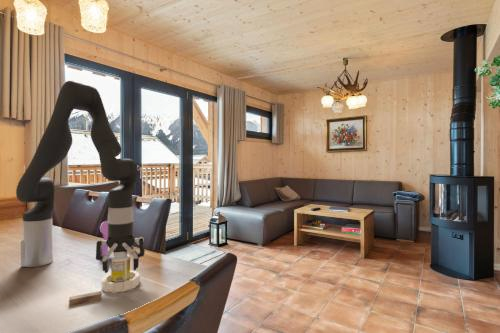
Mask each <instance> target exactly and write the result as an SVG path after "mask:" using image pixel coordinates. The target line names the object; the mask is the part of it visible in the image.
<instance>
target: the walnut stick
mask: <svg viewBox="0 0 500 333" xmlns="http://www.w3.org/2000/svg"><path fill="white" fill-rule="evenodd" d="M102 295H103V294H102V290H100V291H93V292H89V293H83V294H78V295H74V296H73V295H72V296H69V297H68V304H69V305H68V306H69V307H72V306H76V305H81V304H87V303H91V302H96V301H100V300H102V299H103V296H102Z"/></svg>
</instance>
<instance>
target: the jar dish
mask: <svg viewBox="0 0 500 333" xmlns="http://www.w3.org/2000/svg"><path fill="white" fill-rule="evenodd" d="M140 281H141V280H140V272H138V271H137V270H131V269H130V280H127V281H124V282H116V283H114V282H112V281H111V272H110V273H108V274H106V275H105V276H103V278H102V279H101V290H102V291H104V292H106V293H111V294H112V293H113V294H114V293H115V294H116V293H122V292H126V291H130V290H133V289H134V288H136V287H138V286H139V285H140Z"/></svg>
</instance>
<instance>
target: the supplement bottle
mask: <svg viewBox="0 0 500 333" xmlns="http://www.w3.org/2000/svg"><path fill="white" fill-rule="evenodd" d="M110 259H111V260H110V261H111V262H110V264H111V265H110V266H111V271H110V273H111V281H112V282H114V283H116V282H124V281H127V280H130V270H131V255H129V254H128V251H127V252H115V253H114V252H113V256H112V257H111V258H110Z"/></svg>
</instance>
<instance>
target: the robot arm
mask: <svg viewBox="0 0 500 333" xmlns="http://www.w3.org/2000/svg"><path fill="white" fill-rule="evenodd" d="M74 110H78V111H83V112H86V113H87V114H89V116H90V117H91V119H92V124H91V127H90V139H91V141H92V144H93V146H94V147H95V149H96V151H97V153H98V156H99V163H100V169H101V174H102V175H103V177H104V178H105V179H107V181H110V182H118V181H119V183H118V186H116V187H114V188H112V189H110V190H109V191H108V210H107V221H108V239H107V240H104V239H102V238H99V239H98V240H97V242H96V248H95V249H96V250H95V251H96V252H95V260H96V261H101V262H102V272H104V273H105V274H107V273H108V274H109V258H110V256H111V255H112V254H114V253H115V252H127V253H128V254H130V256H132V258H133V263H132V264H133V271H137V269H138V268H139V266H140V265H139V263H140V261H139V258H141V257H142V258H143V257H144V255H145V253H146V252H145V238H144V236H140V237H135V236H134V218H135V217H134V209H133V193H134V188H135V186H136V182H137V177H138V172H139V171H138V165H137V162H136V161H134V160H133V159H132V158H116V157H118V156H119V155H120V154H122V146H121V144H120V142H119V139H117V137H116V135H115V134H114V130H113V129H112V127H111V124H110V122H109V119H108V115H107V112H106V109H105V106H104V103H103V99H102V97H101V94H100V92H99V91H98V89H97V88H96V87H94V86H92V85H90V84H85V83H82V82H79V81H74V80H66V81H65V82H64V83H63V85H62V86H61V87H60V90H59V92H58V96H57V98H56V101H55V104H54V108H53V110H52V115H51V117H50V119H49V122H48V123H47V126H46V128H45V130H44V132H43V134H42V137H41V138H40V140H39V143H38V145H37V148H36V150H35V153H34V155H33V157H32V159H31V161H30V163H29V165H28V166H27V168H26V169H25V171H24V173H23V174H22V176H21V178H20V179H19V181H18V183H17V186H16V190H15V194H16V198H17V200H18V201H19V202H21V203H24V204H25V203H26V204H28V203H36V205H35V206H34V207H32V208H30V209H28V210H26V211H25V212H23V213H22V240H21V241H20V267H23V268H24V267H25V268H37V267H42V266H46V265H49V264H51V263H52V262H53V261H54V258H53V257H54V252H53V249H54V247H53V241H54V240H53V239H54V238H53V237H54V236H53V213H54V210H55V194H56V193H55V191H56V190H55V184H54V182H53V180H52V179H51V178H50V177H44V176H45V175H46V174H47V173H49V172H50V171H51V170H52V169H54V168H55V167H56V166H57V165H59V164H61V162H63V161H64V160H65V159H66V157H67V155H68V153H69V151H70V149H71V147H72V145H73V135H72V132H71V128H70V125H69V121H70V118H71V117H70V116H71V115H72V113H73V111H74ZM135 243H136V244H137V245H138V246H139V252H138V251H137V250H136V248H135V247H134V246H133V245H134V244H135ZM105 244H107V245H108V252H107V253H106V255H102V247H104V245H105Z"/></svg>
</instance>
